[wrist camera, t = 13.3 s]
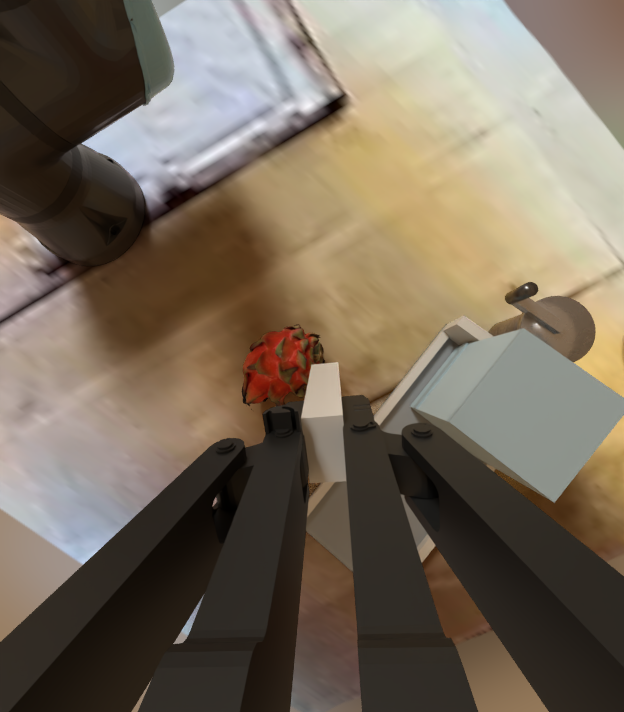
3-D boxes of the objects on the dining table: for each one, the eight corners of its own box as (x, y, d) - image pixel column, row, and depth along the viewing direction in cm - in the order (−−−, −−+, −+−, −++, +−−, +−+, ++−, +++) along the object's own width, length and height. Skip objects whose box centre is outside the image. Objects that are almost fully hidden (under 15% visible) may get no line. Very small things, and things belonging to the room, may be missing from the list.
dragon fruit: (332, 341, 41) (265, 396, 44) (289, 296, 37) (218, 359, 39) (351, 375, 34) (270, 440, 36) (301, 323, 30) (213, 399, 32)
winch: (514, 378, 37) (593, 378, 26) (452, 334, 38) (501, 314, 27) (547, 336, 37) (641, 317, 26) (485, 293, 38) (547, 255, 27)
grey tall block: (474, 456, 36) (556, 504, 22) (408, 405, 37) (447, 420, 24) (522, 395, 36) (634, 405, 22) (455, 346, 37) (521, 326, 24)
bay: (385, 597, 37) (393, 639, 31) (293, 517, 39) (284, 542, 33) (544, 396, 37) (582, 399, 31) (445, 324, 39) (463, 315, 33)
